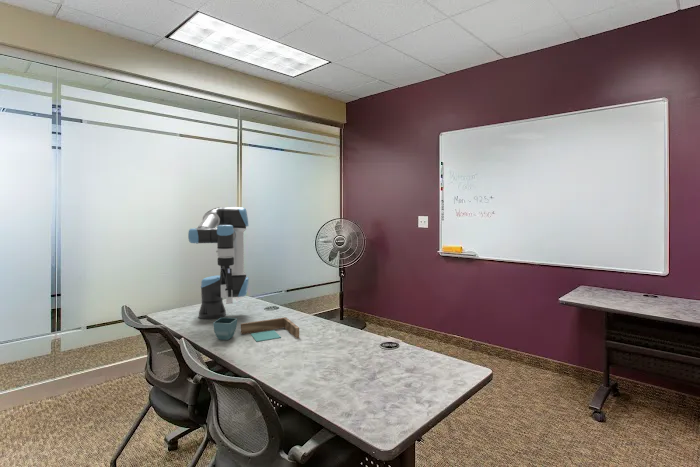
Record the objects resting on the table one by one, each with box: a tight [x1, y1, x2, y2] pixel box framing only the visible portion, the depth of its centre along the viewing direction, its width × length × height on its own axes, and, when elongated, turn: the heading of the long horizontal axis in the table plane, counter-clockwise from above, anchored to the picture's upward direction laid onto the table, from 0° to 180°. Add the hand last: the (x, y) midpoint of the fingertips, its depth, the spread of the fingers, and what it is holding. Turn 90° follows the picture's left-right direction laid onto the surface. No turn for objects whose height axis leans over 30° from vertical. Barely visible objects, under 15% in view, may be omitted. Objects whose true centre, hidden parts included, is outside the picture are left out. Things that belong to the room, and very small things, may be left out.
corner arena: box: [240, 316, 300, 339], centre depth 183 cm, size 20×24×5 cm
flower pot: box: [212, 317, 238, 341], centre depth 178 cm, size 9×9×9 cm
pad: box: [250, 329, 282, 343], centre depth 182 cm, size 12×12×1 cm
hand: (226, 300), depth 178 cm, fingers open, 13 cm apart
